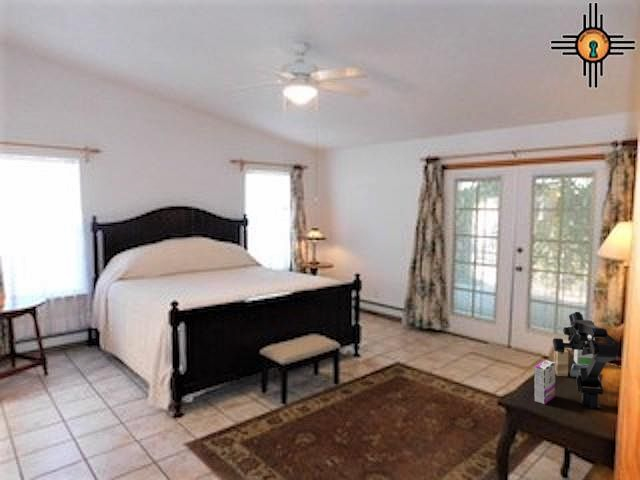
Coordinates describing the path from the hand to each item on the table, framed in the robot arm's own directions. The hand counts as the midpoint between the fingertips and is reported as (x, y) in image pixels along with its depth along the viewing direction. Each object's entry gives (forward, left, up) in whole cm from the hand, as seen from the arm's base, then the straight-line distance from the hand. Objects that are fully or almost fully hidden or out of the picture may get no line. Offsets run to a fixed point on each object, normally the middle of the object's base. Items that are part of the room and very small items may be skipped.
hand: (571, 354), depth 211 cm
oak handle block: (+8, +1, -13) cm, 15 cm away
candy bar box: (-18, +22, -14) cm, 32 cm away
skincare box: (+21, -19, -14) cm, 31 cm away
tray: (+6, -9, -13) cm, 17 cm away
